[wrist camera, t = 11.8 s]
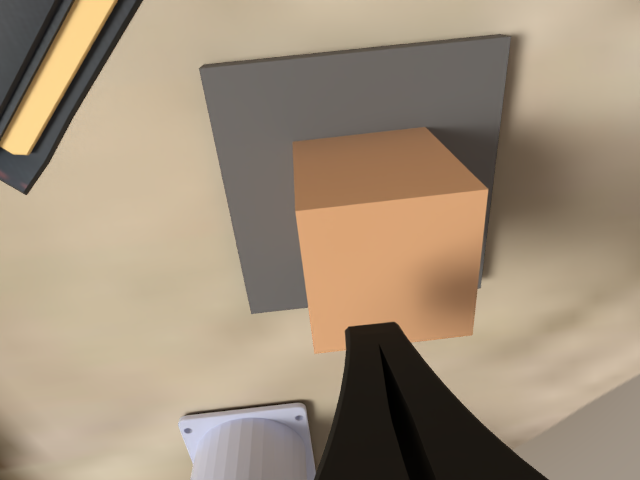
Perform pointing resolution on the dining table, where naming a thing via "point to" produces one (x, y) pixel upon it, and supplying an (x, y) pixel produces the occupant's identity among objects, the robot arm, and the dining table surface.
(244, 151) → the post board
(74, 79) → the dark grey book
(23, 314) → the dining table surface
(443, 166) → the peach tan brick
